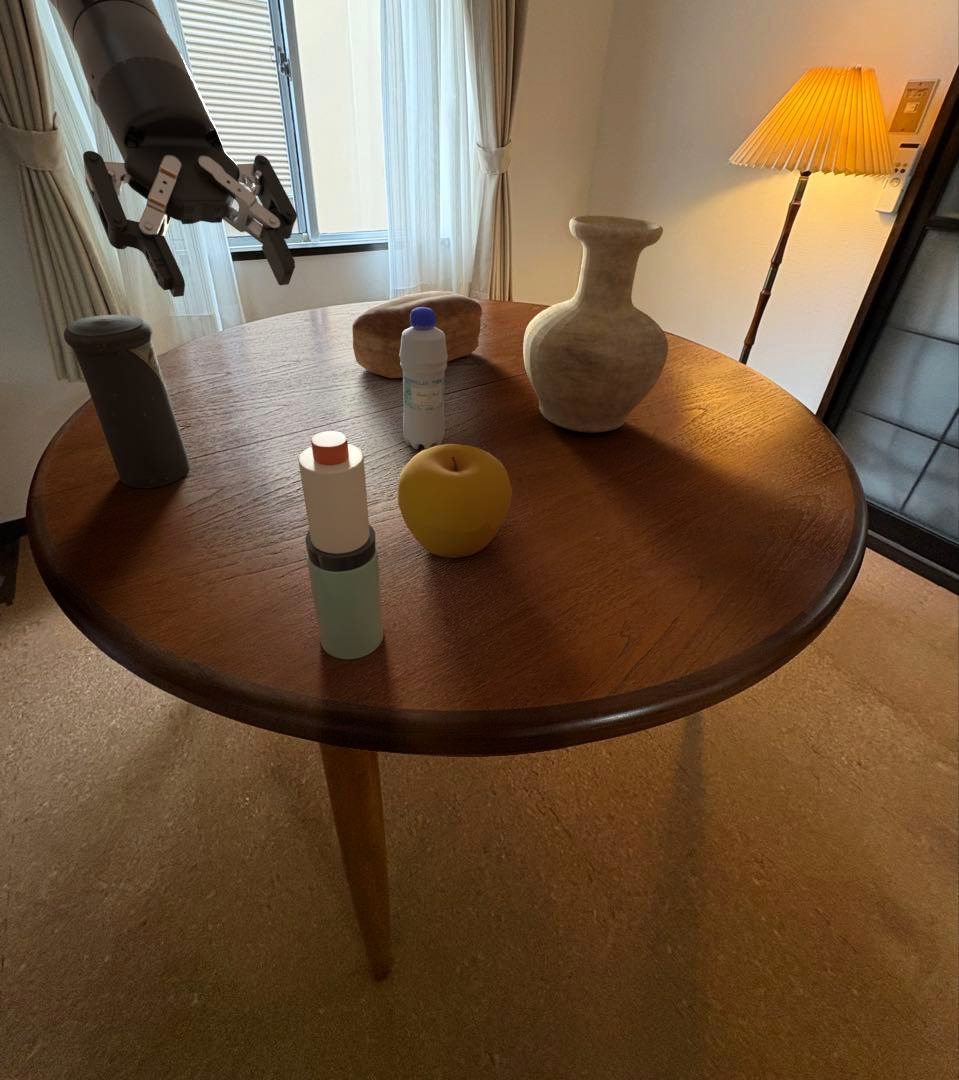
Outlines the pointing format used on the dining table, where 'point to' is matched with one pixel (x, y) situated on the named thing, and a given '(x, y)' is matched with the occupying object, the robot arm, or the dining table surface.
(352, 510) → the cream bottle
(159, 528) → the dining table surface
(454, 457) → the apple
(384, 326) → the bread
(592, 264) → the vase
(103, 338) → the container
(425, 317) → the bottle
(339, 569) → the celadon jar
